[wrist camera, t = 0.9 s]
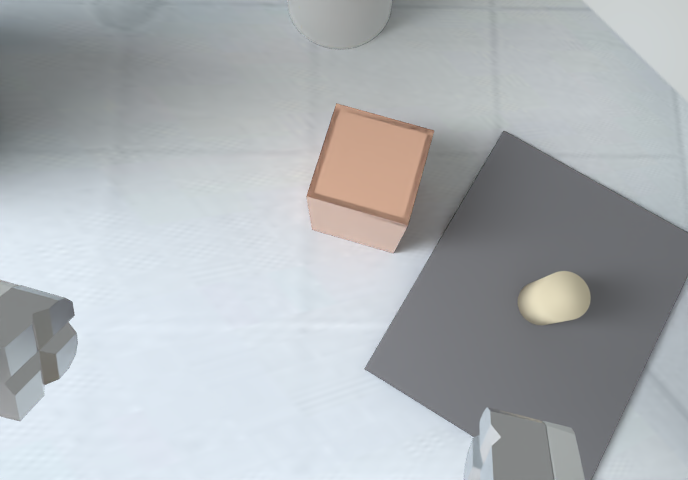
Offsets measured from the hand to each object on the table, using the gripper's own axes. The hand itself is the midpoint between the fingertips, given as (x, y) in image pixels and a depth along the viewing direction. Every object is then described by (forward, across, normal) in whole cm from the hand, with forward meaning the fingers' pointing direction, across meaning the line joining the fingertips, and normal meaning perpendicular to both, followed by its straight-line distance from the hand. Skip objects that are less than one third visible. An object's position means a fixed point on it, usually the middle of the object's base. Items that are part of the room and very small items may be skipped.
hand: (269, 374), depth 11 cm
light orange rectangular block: (+28, +1, +10) cm, 30 cm away
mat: (+26, -12, +13) cm, 32 cm away
